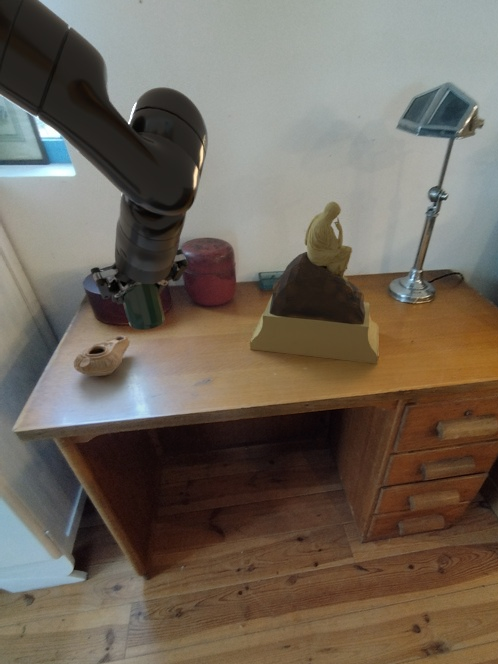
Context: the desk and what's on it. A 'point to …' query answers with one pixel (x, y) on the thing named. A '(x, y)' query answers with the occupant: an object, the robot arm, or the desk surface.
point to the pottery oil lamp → (102, 357)
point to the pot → (144, 307)
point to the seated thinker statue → (319, 302)
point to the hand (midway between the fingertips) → (137, 293)
